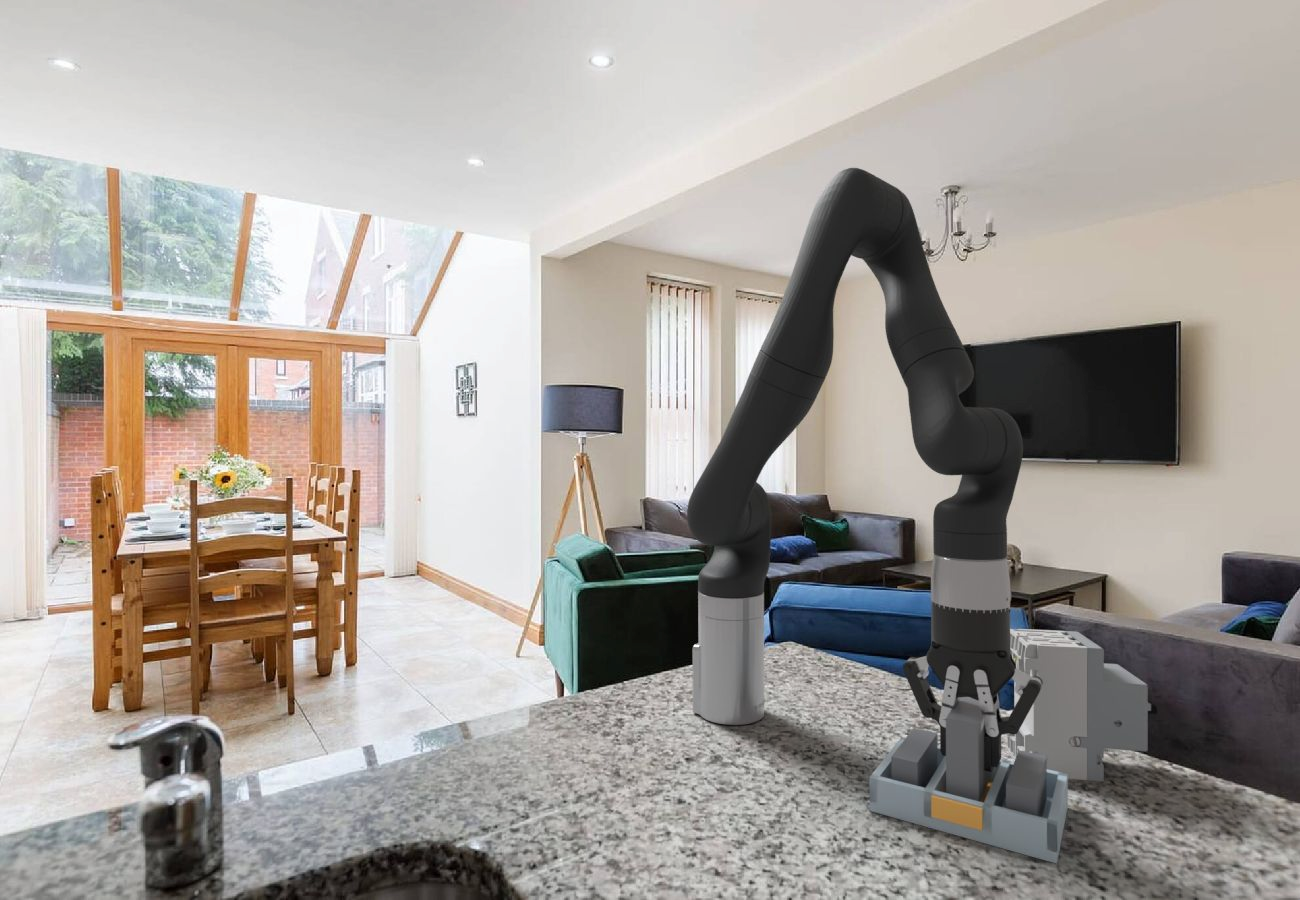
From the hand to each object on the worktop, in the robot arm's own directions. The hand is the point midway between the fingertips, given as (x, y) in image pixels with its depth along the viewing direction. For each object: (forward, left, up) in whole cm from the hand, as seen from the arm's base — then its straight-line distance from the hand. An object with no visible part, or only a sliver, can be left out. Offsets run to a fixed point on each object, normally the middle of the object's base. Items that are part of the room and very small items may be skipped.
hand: (970, 763), depth 75 cm
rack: (0, 0, -5) cm, 5 cm away
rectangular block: (0, 0, -2) cm, 2 cm away
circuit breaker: (+9, +18, -5) cm, 21 cm away
